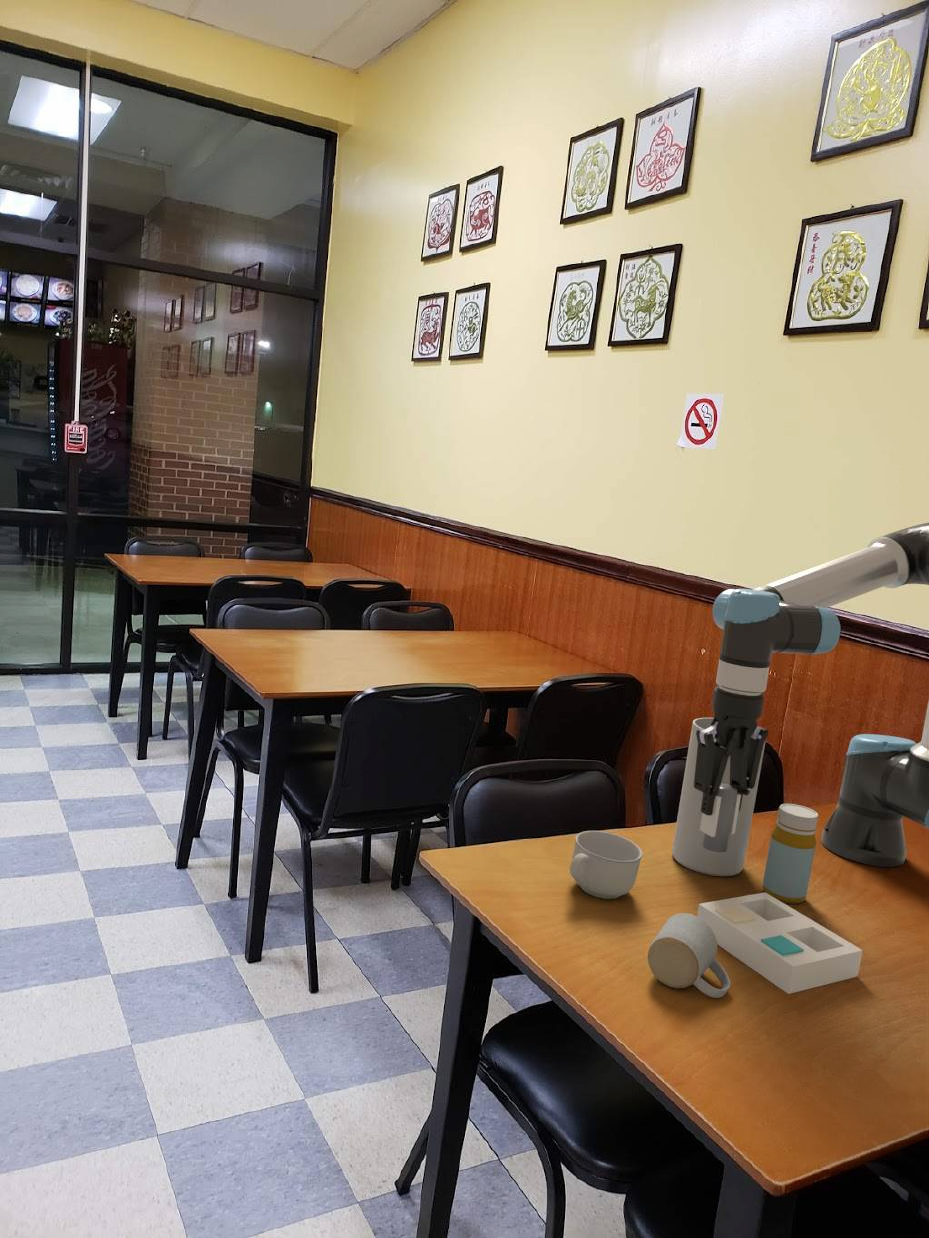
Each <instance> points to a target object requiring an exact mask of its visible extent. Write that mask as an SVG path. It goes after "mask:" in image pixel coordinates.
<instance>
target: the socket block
mask: <svg viewBox="0 0 929 1238" xmlns="http://www.w3.org/2000/svg"><path fill="white" fill-rule="evenodd" d="M696 916H697V917H699V918H701V919H702V920H703V921H704V922H706V923H707V925H708V926H709V927H710V928H711V930H712V931H713V933H714V935H715V937H716V941H717V946H719V947H721V948H722V949H723V950H725V951H726V952H728V953H729V954H731V955H732V956H733V957H734V958H736V959H737V960H739V961H741V962H742V963H744V964H745V965H746V966H747V967H749V968H751V970H753V971H755V972H757V974H759V975H761V976H762V977H763V978H765V979H766V980H767V981H769V982H770V983H772V984H773V985H775V986H776V987H777V988H779V989H780V990H781V991H783V992H784V993H786V994H788V995H790V994H794V993H799V992H802V991H805V990H809V989H810V990H811V989H814V988H817V987H822V986H825V985H829V984H834V983H837V982H842V981H845V980H849V979H854V978H857V977H858V976H859V972H860V971H859V970H860V967H861V966H860V965H861V961H862V958H863V957H862V956H863V952H864V951H863V949H861V948H860V947H858V946H856V945H855V944H853V943H851V942H850V941H847V940H846V939H844V938H843V937H841V936H839V935H838V934H836V933H835V932H833V931H831V930H829V929H828V928H826V927H824V926H823V925H820V923H817V922H816V921H814V920H813V919H811V918H810V917H808V916H807V915H804V914H802V913H801V912H799V911H797V910H796V909H794V908H792V907H790V906H789V905H788V904H787V903H783V902H781V901H779V900H777V899H776V898H774V897H772V896H771V895H769V894H767V893H766V892H765V891H764V892H760V893H754V894H747V895H743V896H738V897H731V898H724V899H720V900H714V901H707V902H702V903H699V904H698V909H697V914H696Z"/></svg>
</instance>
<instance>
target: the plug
mask: <svg viewBox="0 0 929 1238" xmlns="http://www.w3.org/2000/svg"><path fill="white" fill-rule="evenodd" d="M711 787H712V786H711ZM736 795H737V788H735V787H733V786H731V785H728V784H723V783H721V785H720V789H719V792H718V795H717V796H720V797H721V804H720V810H719V816H718V822H717V829H716V835H715V837H711V836H709V835H707V834H706V833H704V834H703V840H702V846H703V847H704V848H705V849H707V850H710V851H714V852H726V851H727V850H728V844H729V838H730V832H731V826H732V820H733V814H734V808H735V802H736Z"/></svg>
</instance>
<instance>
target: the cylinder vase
mask: <svg viewBox="0 0 929 1238" xmlns="http://www.w3.org/2000/svg"><path fill="white" fill-rule="evenodd" d="M713 718H714V717H700V718H695V719H693V721H692V725H691V731H690V736H689V737H690V739H689V744H688V750H687V756H686V761H685V762H686V763H685V767H684V768H685V769H684V775H683V781H682V788H681V792H680V793H681V795H680V799H679V800H680V801H679V806H678V812H677V818H676V819H677V820H676V824H675V831H674V836H673V841H672V849H671V854H672V856H673V858H674V860H676V862H678V863H679V864H680V865H681V866H683V867H685V868H687V869H689V870H691V871H694V872H696V873H700V874H704V875H707V876H713V877H714V876H715V877H731V876H735V875H738V874H739V873H741V872H742V871H743V869H744V866H745V862H746V855H747V849H748V844H749V838H750V834H751V833H750V832H751V826H752V821H753V816H754V815H753V814H754V809H755V805H756V798H757V793H758V786H759V781H760V774H761V770H762V763H763V758H764V754H765V753H764V752H765V748H766V747H765V746H766V741H767V739H766V740H765V742H764V744H763V749H762V754H761V759H760V763H759V768H758V773H757V778H756V782H755V786H754V788H753V789H750V788H749V789H747V790H749V791H750V793H749V794H748V795H744V794H743V797H742V802H741V809H740V811H739V812H738V817H737V823H736V829H735V834H730V838H729V844H728V850H727V851H726V852H714V851H710V850H707V849H705V848H704V847H703V846H702V840H703V834H704V832H702V831H700V825H701V819H702V812H701V805H702V798H703V792H701V791H699V790H697V789H695V788H694V777H695V768H696V758H697V748H698V741H697V736H696V732H697V730H698V729H702V730H705V729H707V728H709V727H711V722H712V720H713ZM721 747H722V746H721ZM723 748H724V747H723ZM747 779H749V778H748V777H747ZM721 783H723V784H728V785H730V756H729V758H728V761H727V765H726V768H725V771H724V775H723V778H722V782H721Z"/></svg>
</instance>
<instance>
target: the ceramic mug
mask: <svg viewBox="0 0 929 1238" xmlns="http://www.w3.org/2000/svg"><path fill="white" fill-rule="evenodd" d="M647 953H648V954H647V961H648V962H647V963H648V967H649V968H650V971H651V973H652V974H653V975H654V977H655V978H656V979H657V980H658V981H659V982H660V983H662V984H663V985H665V986H667V987H669V988H672V989H673V988H674V989H685V988H688V987H690V986H692V985H693V986H694V987H696V989H698V990H699V991H700V992H701V993H704V995H706V996H708V997H710V998H713V999H720V998H722V997H724V996H725V995H726V993H728V991H729V989H731V979H730V977H729V975H728V973H727V971H726V969H724V967H723V966H722V964H721V963H719V961H717V960H716V956H717V954H718V944H717V941H716V937H715V935H714V933H713V931H712V930H711V928H710V927H709V926H708V925H707V923H706V922H704V921H703V920H702V919H701V918H699V917H697V915H694V914H691V913H686V912H683V913H682V912H681V913H677V914H674V915H672V916H671V917H669V918H668V919H667V921H666V922H665V923H664V924H663V926H662V928H660V930H659V931H658V934H656V935H655V937H654V939H653V940H652V942H651V944H650V946H649V948H648V952H647ZM708 969H709V970H711V972H713V974H714V975H715V976H716V977H717V979H718V980H719V981H720V984H721V987H722V988H717V987H714V986H712V985H711V984H709V983H708V982H707V981H706V980H704V979H703V978H702V976H703V975H704V973H705V972H706V971H707V970H708Z"/></svg>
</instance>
